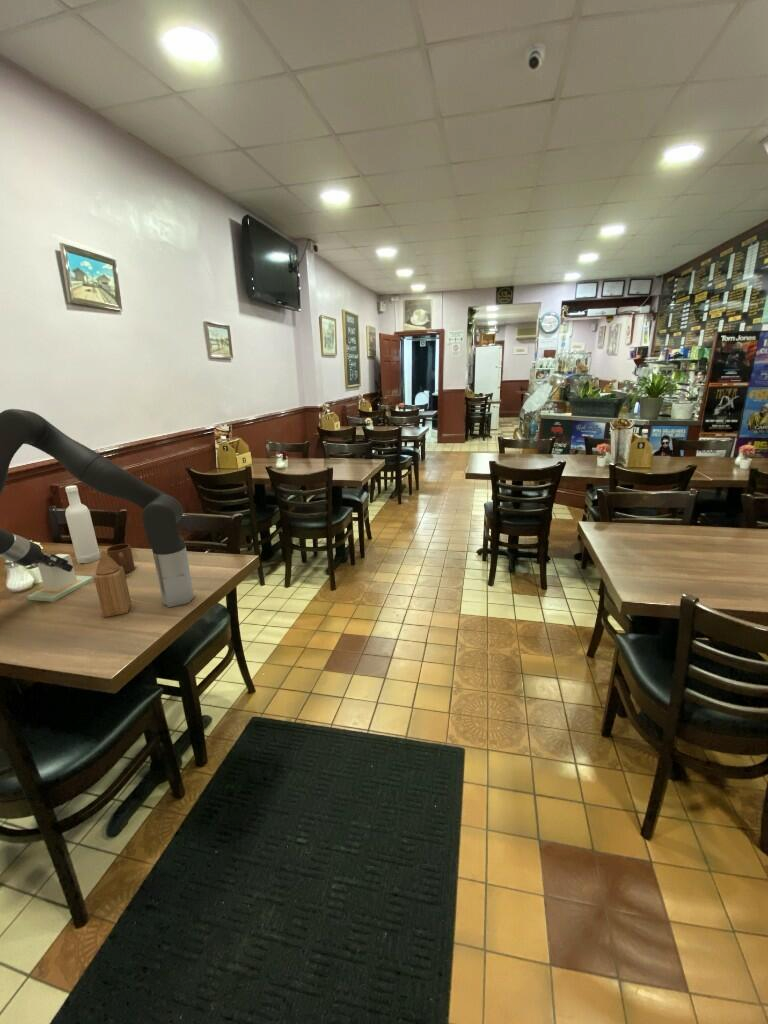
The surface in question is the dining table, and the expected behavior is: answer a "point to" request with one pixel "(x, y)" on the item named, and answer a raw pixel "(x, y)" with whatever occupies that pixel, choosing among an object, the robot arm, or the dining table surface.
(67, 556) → the housing
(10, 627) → the dining table surface
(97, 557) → the bottle
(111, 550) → the mug
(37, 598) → the header board
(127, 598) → the decorative item
